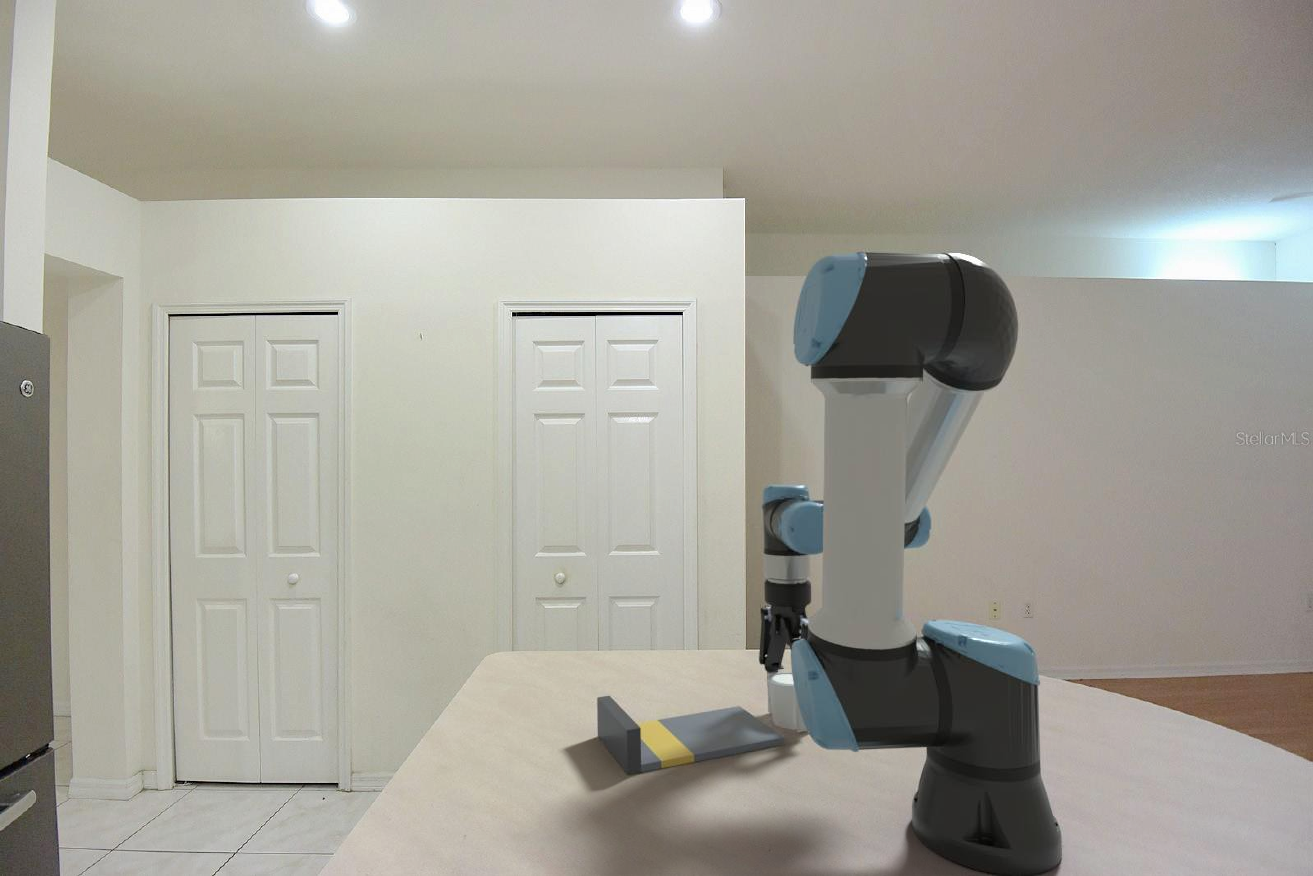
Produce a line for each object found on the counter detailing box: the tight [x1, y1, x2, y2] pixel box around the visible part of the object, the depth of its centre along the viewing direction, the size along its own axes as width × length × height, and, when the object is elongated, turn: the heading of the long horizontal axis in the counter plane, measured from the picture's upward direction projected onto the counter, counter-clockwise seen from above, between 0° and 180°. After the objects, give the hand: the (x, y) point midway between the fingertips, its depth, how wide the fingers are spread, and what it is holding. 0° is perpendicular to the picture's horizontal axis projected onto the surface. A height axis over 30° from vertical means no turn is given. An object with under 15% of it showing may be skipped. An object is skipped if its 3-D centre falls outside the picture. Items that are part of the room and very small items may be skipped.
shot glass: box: [768, 672, 797, 730], centre depth 110 cm, size 7×7×7 cm
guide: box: [596, 695, 786, 775], centre depth 103 cm, size 14×25×6 cm, turn 112°
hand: (790, 720), depth 110 cm, fingers open, 8 cm apart
